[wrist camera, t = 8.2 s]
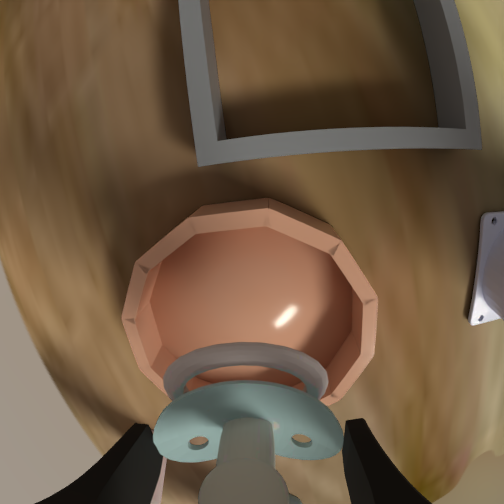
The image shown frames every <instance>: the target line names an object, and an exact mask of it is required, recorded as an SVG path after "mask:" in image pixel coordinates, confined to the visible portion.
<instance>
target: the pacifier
mask: <svg viewBox="0 0 504 504" xmlns="http://www.w3.org/2000/svg"><path fill="white" fill-rule="evenodd" d="M239 365H244V366H262V367H268V368H274V369H278V370H281V371H284V372H288V373H290V374H292V375H294V376H296V377H297V378H299V379H300V380H301V381H302V382H303V383H304V384H305V386H304V389H303V390H302V391H301V390H299V389H296V388H293V387H290V386H287V385H283V384H279V383H273V382H267V381H258V380H234V381H224V382H218V383H214V384H209V385H206V386H202V387H199V388H196V389H194V390H192V391H189V389H188V388H187V386H186V383H187V382H188V381H189V380H190V379H192V378H193V377H194V376H196V375H198V374H201V373H203V372H206V371H208V370H212V369H217V368H221V367H228V366H239ZM163 382H164V389H165V391H166V392H167V394H168V396H169V398H170V399H171V400H172V402H171V403H170V404H169V405H168V406H167V407H166V408H165V409H164V410H163V411H162V413H161V414H160V416H159V418H158V420H157V423H156V426H155V428H154V433H153V442H154V444H155V445H156V447H157V449H158V451H159V453H160V454H161V455H163V456H164V457H165V458H168V459H170V460H173V461H178V462H202V461H208V460H213V459H217V464H216V467H215V468H214V469H213V470H212V471H210V473H209V474H208V475H207V476H206V478H205V479H204V481H203V483H202V485H201V488H200V490H199V496H198V504H289V492H288V488H287V485H286V483H285V481H284V479H283V477H282V476H281V475H280V473H279V472H278V471H277V470H276V469H275V454H276V455H279V456H283V457H288V458H294V459H301V460H319V459H325V458H330V457H332V456H334V455H336V454H337V453H338V452H339V451H340V450H341V449H342V447H343V441H344V437H343V431H342V428H341V426H340V424H339V422H338V420H337V418H336V417H335V416H334V414H333V413H332V411H331V410H330V409H329V408H328V407H327V406H326V405H325V404H324V403H322V402H321V401H320V399H321V397H322V396H323V395H324V394H325V391H326V388H327V386H328V383H329V382H328V376H327V372H326V370H325V369H324V368H323V367H322V365H321V364H320V363H319V362H318V361H317V360H315V359H313V358H312V357H310V356H309V355H307V354H305V353H304V352H301V351H298V350H295V349H292V348H289V347H286V346H281V345H275V344H269V343H263V342H233V343H223V344H215V345H211V346H207V347H203V348H199V349H196V350H193V351H191V352H189V353H187V354H185V355H183V356H181V357H179V358H178V359H177V360H175V361H174V362H173V363H172V364H171V365H169V366H168V368H167V370H166V372H165V374H164V376H163ZM295 434H303V435H306V436H308V437H309V438H310V439H311V441H310V442H307V443H302V442H298V441H296V440H294V439H293V438H292V436H293V435H295ZM198 436H203V437H206V438H207V439H208V441H207V442H206V443H204V444H202V445H193V444H191V443H190V442H189V441H190V440H191V439H192V438H194V437H198Z"/></svg>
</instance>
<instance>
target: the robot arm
mask: <svg viewBox="0 0 504 504" xmlns="http://www.w3.org/2000/svg"><path fill="white" fill-rule="evenodd" d="M493 217H494V221H493V223H492V219H493ZM479 317H480V318H479ZM478 318H479V319H478ZM500 318H502V319H503V320H504V211H501V212H487V213H484V214H483V215H482V217H481V223H480V238H479V250H478V259H477V268H476V275H475V283H474V289H473V295H472V301H471V307H470V312H469V317H468V322H469V323H470V324H471V325H478V324H481V323H485V322H489V321H493V320H496V319H500ZM342 455H343V464H344V472H345V478H346V482H347V486H348V491H349V495H350V500H351V504H432V503H431V502H429V501H428V500H427V499H426V498H425V497H424V496H423V495H422V494H421V493H419V492H418V491H417V490H416V489H415V488H414V487H413V486H412V485H411V484H410V482H409V481H408V480H407V479H406V478H405V477H404V476H403V475H402V474H401V472H400V471H399V470H398V469H397V468H396V466H395V465H394V464H393V462H392V461H391V460H390V458H389V457H388V456H387V454H386V453H385V452H384V450H383V449H382V447H381V446H380V445H379V443H378V441H377V440H376V438H375V437H374V435H373V434H372V432H371V430H370V428H369V427H368V425H367V423H366V421H365V420H364V419H363V418H360V419H353V420H347V421H346V424H345V433H344V441H343V449H342ZM162 461H163V455H161V454H160V453H159V451H158V449H157V447H156V445H155V444H154V442H153V433H152V431H151V429H150V427H149V425H147V424H138V423H135V424H134V425H133V426H132V427H131V428H130V429H129V430H128V431H127V432H126V433H125V434H124V435H123V436H122V437H121V438H120V439H119V440H118V442H117V443H116V444H115V445H114V446H113V447H112V448H111V449H110V450H109V451H108V452H107V453H106V454H105V455H104V456H103V457H102V458H101V459H100V460H99V461H98V462H97V463H96V464H95V465H93V466H92V467H91V468H90V469H89V470H88V471H87V472H85V473H84V474H83V475H82V476H81V477H79V478H78V479H77V480H75V481H74V482H73V483H71V484H70V485H68V486H67V487H65V488H64V489H62V490H60V491H59V492H57V493H55V494H53V495H52V496H50V497H48V498H46V499H44V500H42V501H40V502H38V503H35V504H150V503H151V501H152V498H153V495H154V492H155V489H156V486H157V483H158V479H159V476H160V472H161V467H162Z"/></svg>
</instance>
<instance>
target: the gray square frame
mask: <svg viewBox="0 0 504 504" xmlns="http://www.w3.org/2000/svg"><path fill="white" fill-rule="evenodd" d="M413 1H414V4H415V7H416V11H417V14H418V18H419V22H420V26H421V29H422V34H423V38H424V42H425V46H426V51H427V56H428V61H429V66H430V71H431V77H432V82H433V89H434V95H435V102H436V110H437V119H438V128H434V127H361V128H338V129H321V130H308V131H296V132H285V133H275V134H266V135H258V136H250V137H242V138H235V139H228V140H227V139H226V132H225V124H224V117H223V109H222V102H221V94H220V87H219V79H218V71H217V64H216V56H215V48H214V40H213V32H212V24H211V16H210V8H209V0H178V2H179V13H180V24H181V34H182V44H183V53H184V62H185V71H186V80H187V88H188V96H189V104H190V112H191V120H192V127H193V135H194V142H195V149H196V156H197V163H198V167H201V166H207V165H214V164H221V163H228V162H235V161H243V160H250V159H259V158H267V157H277V156H286V155H297V154H308V153H320V152H334V151H350V150H371V149H407V148H443V149H477V150H482V141H481V129H480V119H479V110H478V102H477V95H476V89H475V82H474V77H473V71H472V66H471V61H470V57H469V52H468V48H467V44H466V39H465V36H464V32H463V28H462V24H461V21H460V17H459V14H458V11H457V8H456V5H455V2H454V0H413Z"/></svg>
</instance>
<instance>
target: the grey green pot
mask: <svg viewBox="0 0 504 504" xmlns="http://www.w3.org/2000/svg"><path fill="white" fill-rule="evenodd" d="M289 504H302V503H301V501H300V499H298V498H297V497H296V496H293V495H291V494H289Z"/></svg>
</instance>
